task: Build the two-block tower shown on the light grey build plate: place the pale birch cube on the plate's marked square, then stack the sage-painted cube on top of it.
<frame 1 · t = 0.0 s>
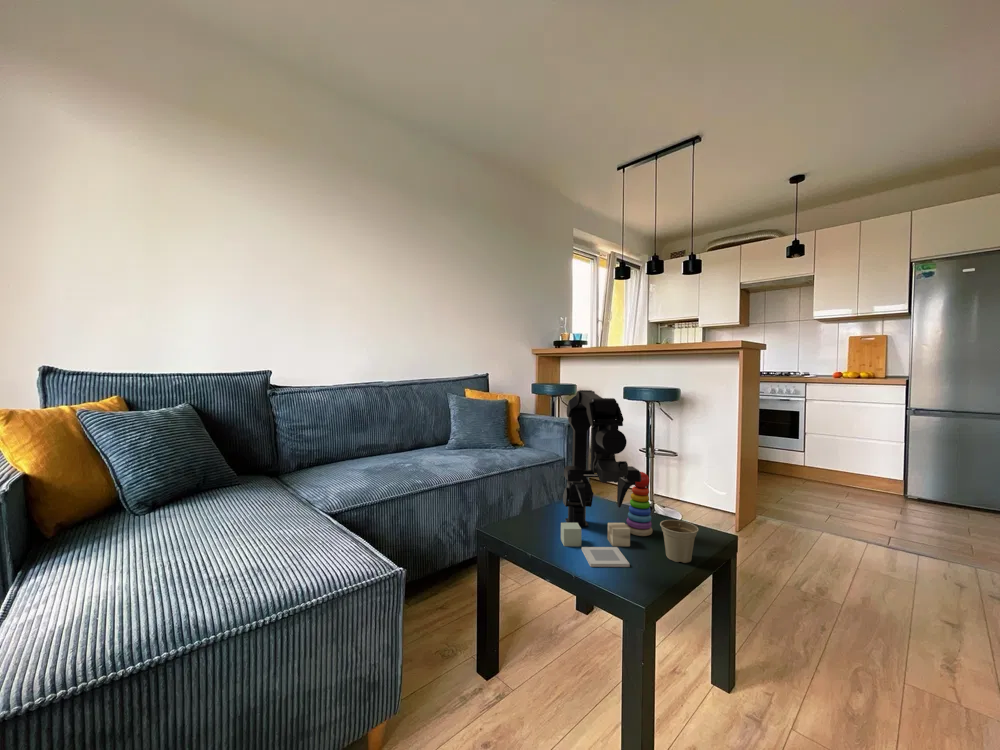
hand: (601, 507, 105), 15 cm above the table, fingers open, 9 cm apart
flower pot: (678, 558, 109), on the table
stacking toy: (638, 532, 127), on the table
block sage: (570, 542, 118), on the table
block birch: (618, 543, 118), on the table
build plate: (604, 558, 108), on the table
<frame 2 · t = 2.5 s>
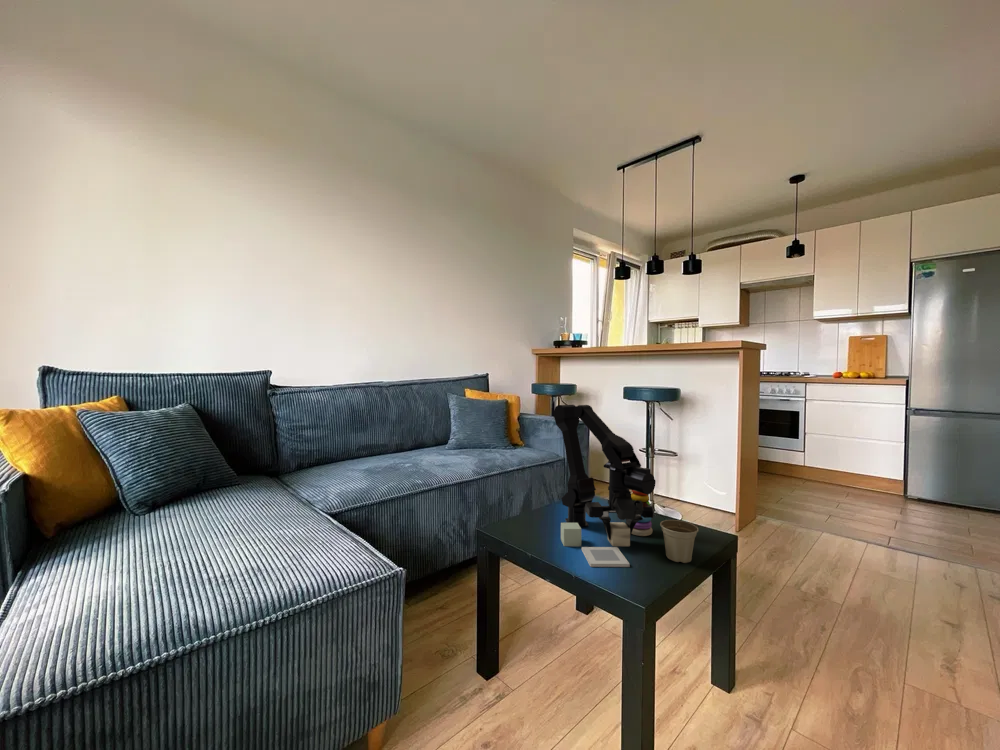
hand: (618, 539, 118), 1 cm above the table, fingers closed on block birch, 5 cm apart
block birch: (618, 542, 118), on the table, touching gripper
everything else where it was.
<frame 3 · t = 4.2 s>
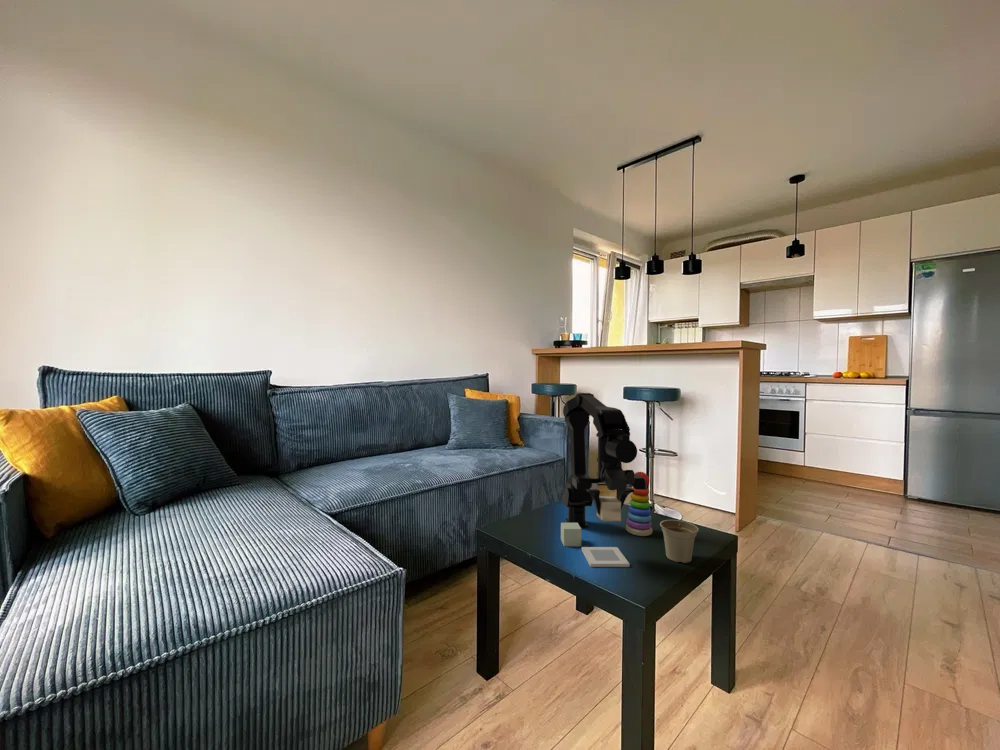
hand: (608, 513, 109), 11 cm above the table, fingers closed on block birch, 5 cm apart
block birch: (608, 517, 109), point 10 cm above the table, touching gripper
everything else where it was.
when the fingers open (2 cm above the table, at t = 6.0 s): block birch stays where it is, resting on build plate.
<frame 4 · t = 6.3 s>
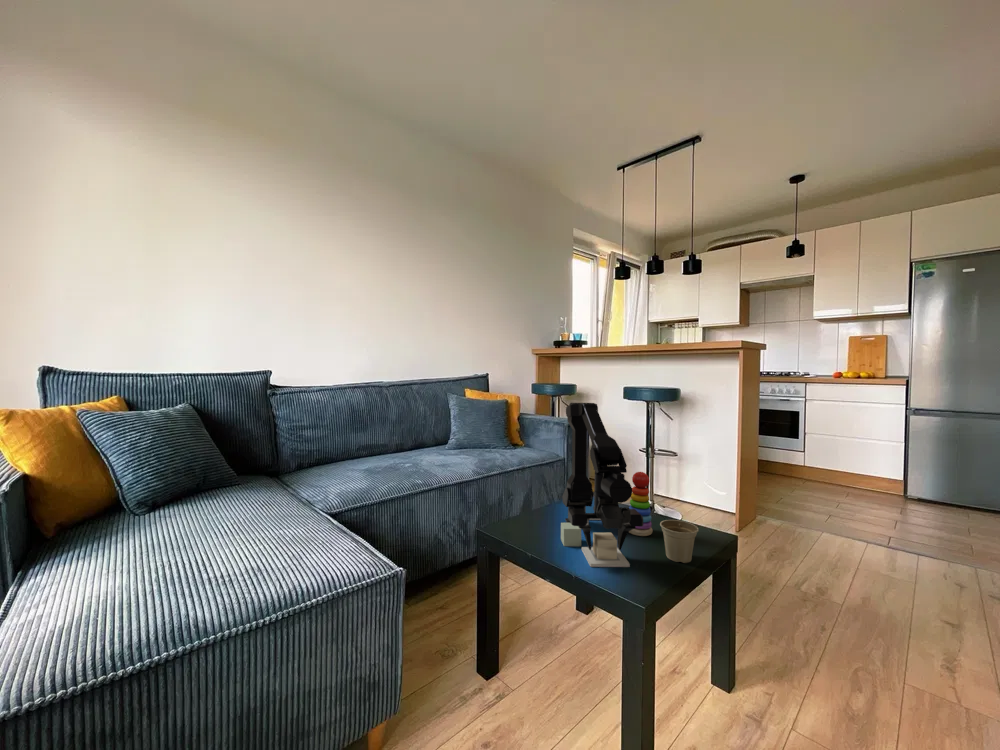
hand: (604, 549, 108), 2 cm above the table, fingers open, 8 cm apart
block birch: (604, 554, 108), point 1 cm above the table, touching build plate
everything else where it was.
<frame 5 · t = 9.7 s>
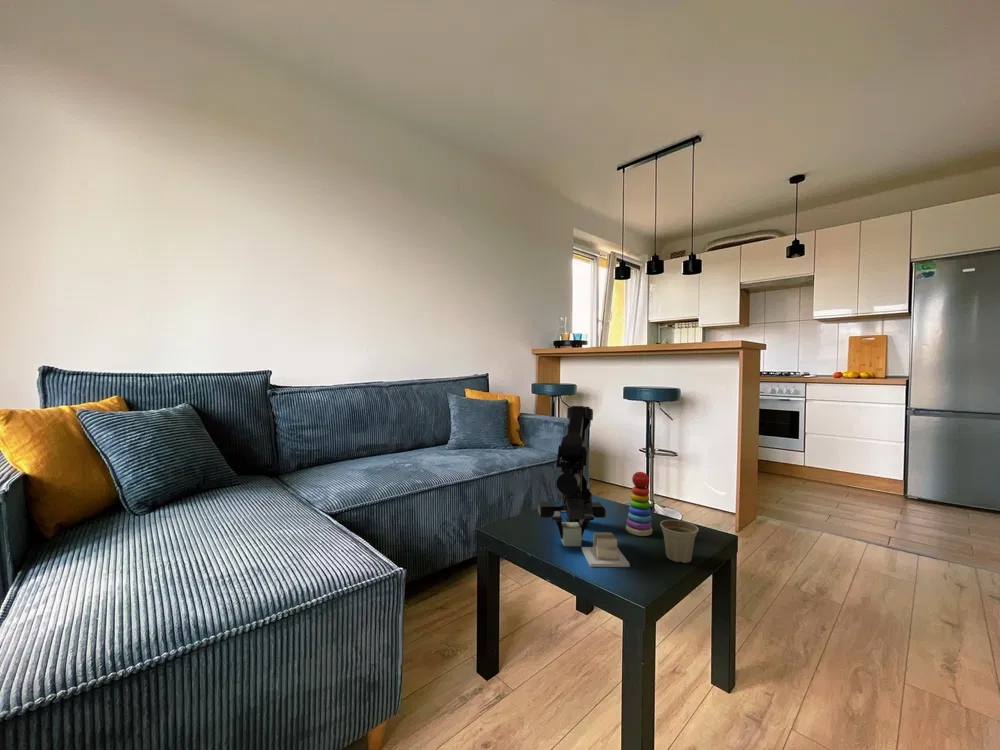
hand: (570, 538, 118), 1 cm above the table, fingers closed on block sage, 5 cm apart
block sage: (570, 542, 118), on the table, touching gripper
everything else where it was.
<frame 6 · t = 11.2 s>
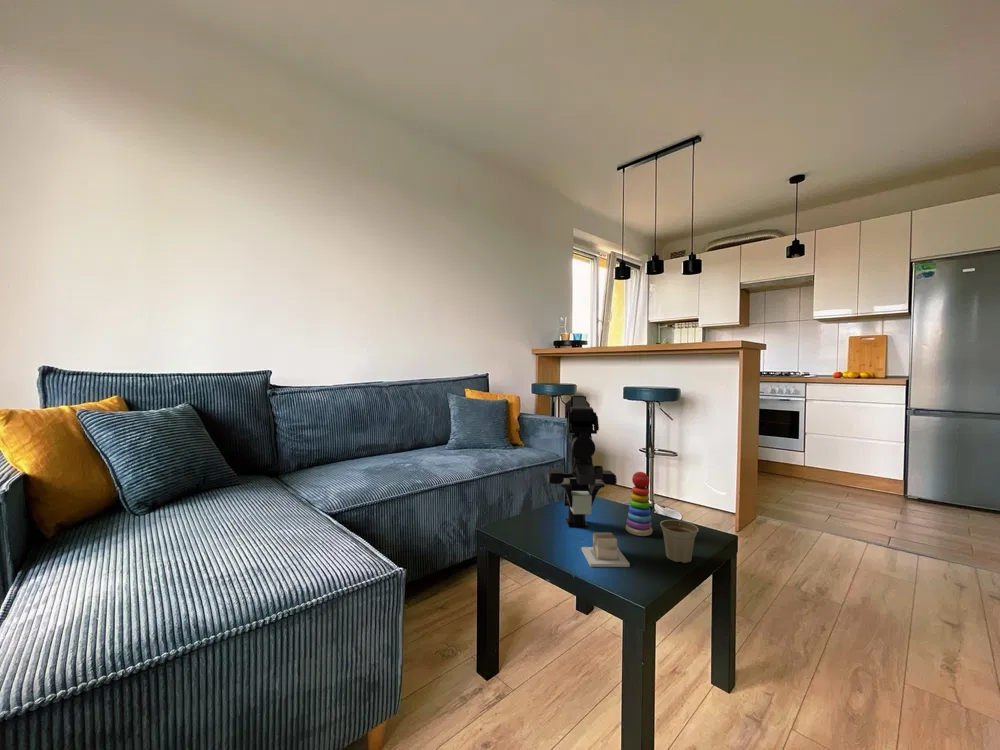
hand: (580, 507, 115), 11 cm above the table, fingers closed on block sage, 5 cm apart
block sage: (580, 511, 115), point 10 cm above the table, touching gripper
everything else where it was.
when the fingers open (7 cm above the table, at t = 12.7 s): block sage stays where it is, resting on block birch.
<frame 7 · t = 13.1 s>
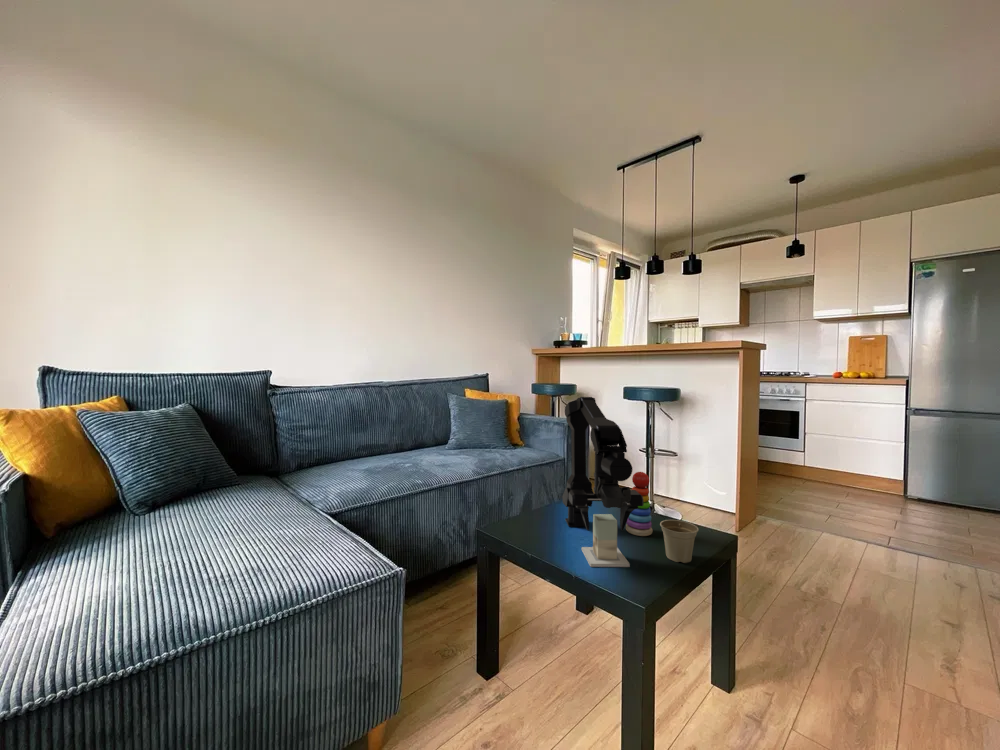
hand: (604, 529, 108), 7 cm above the table, fingers open, 9 cm apart
block sage: (604, 536, 108), point 6 cm above the table, touching block birch
block birch: (604, 554, 108), point 1 cm above the table, touching block sage, build plate
everything else where it was.
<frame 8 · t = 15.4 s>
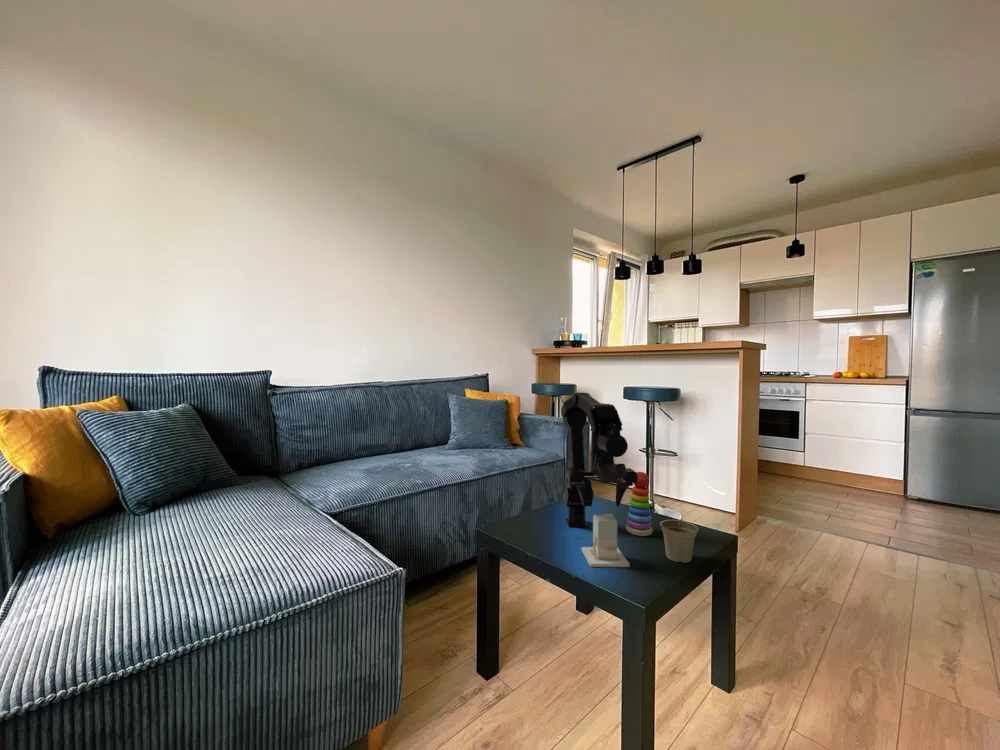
hand: (600, 506, 112), 12 cm above the table, fingers open, 9 cm apart
nothing on the table moved.
at the end: block birch 0.0 cm off-centre on the build plate, point 0.8 cm above the build plate's base; block sage 0.0 cm off-centre on the block birch, point 5.0 cm above the block birch's base; block sage tilted 0° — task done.
